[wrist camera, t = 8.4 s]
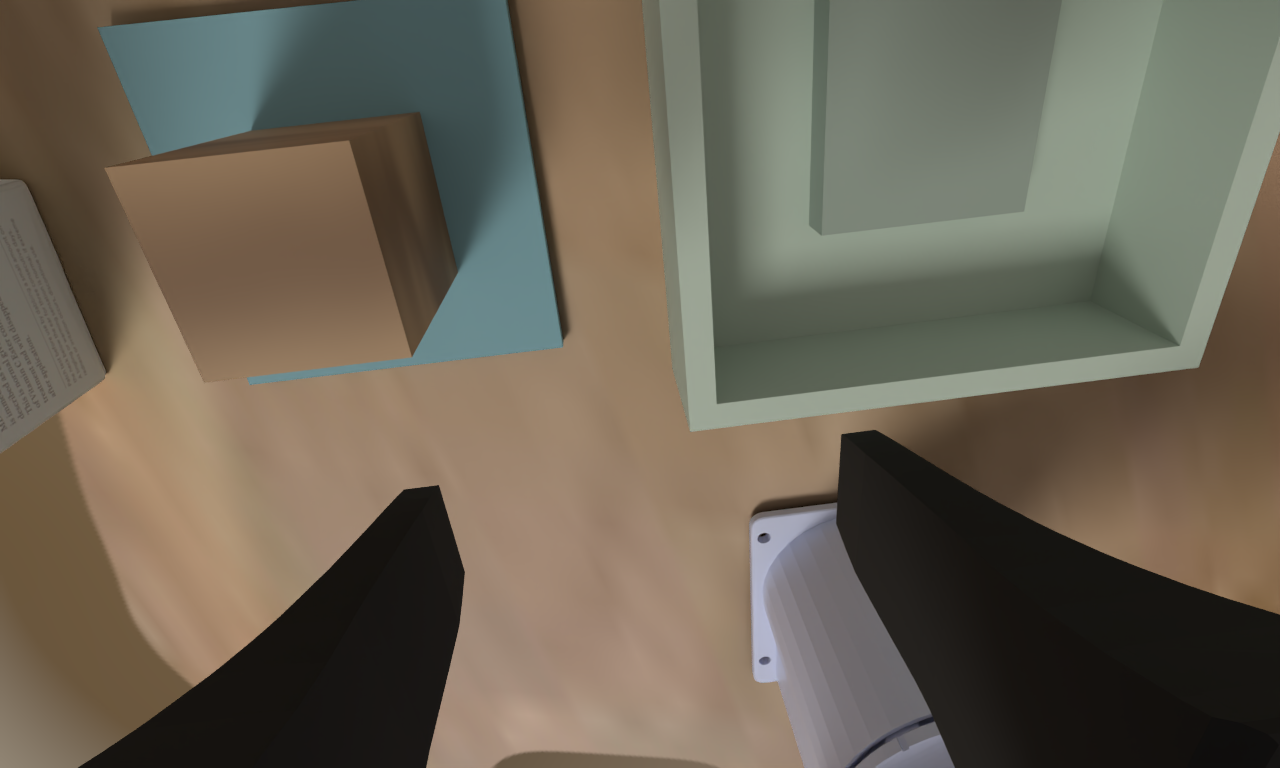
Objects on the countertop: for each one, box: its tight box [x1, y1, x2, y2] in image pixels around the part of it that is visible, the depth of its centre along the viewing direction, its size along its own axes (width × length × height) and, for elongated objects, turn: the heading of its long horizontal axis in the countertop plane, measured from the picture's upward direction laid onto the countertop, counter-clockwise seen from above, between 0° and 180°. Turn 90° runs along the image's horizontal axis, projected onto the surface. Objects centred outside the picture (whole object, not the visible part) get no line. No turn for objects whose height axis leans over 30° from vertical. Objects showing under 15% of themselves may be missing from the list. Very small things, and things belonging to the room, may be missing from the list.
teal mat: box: [97, 0, 563, 385], centre depth 19 cm, size 10×10×1 cm
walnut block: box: [104, 112, 458, 383], centre depth 16 cm, size 4×4×6 cm
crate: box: [642, 0, 1280, 432], centre depth 17 cm, size 15×15×4 cm
